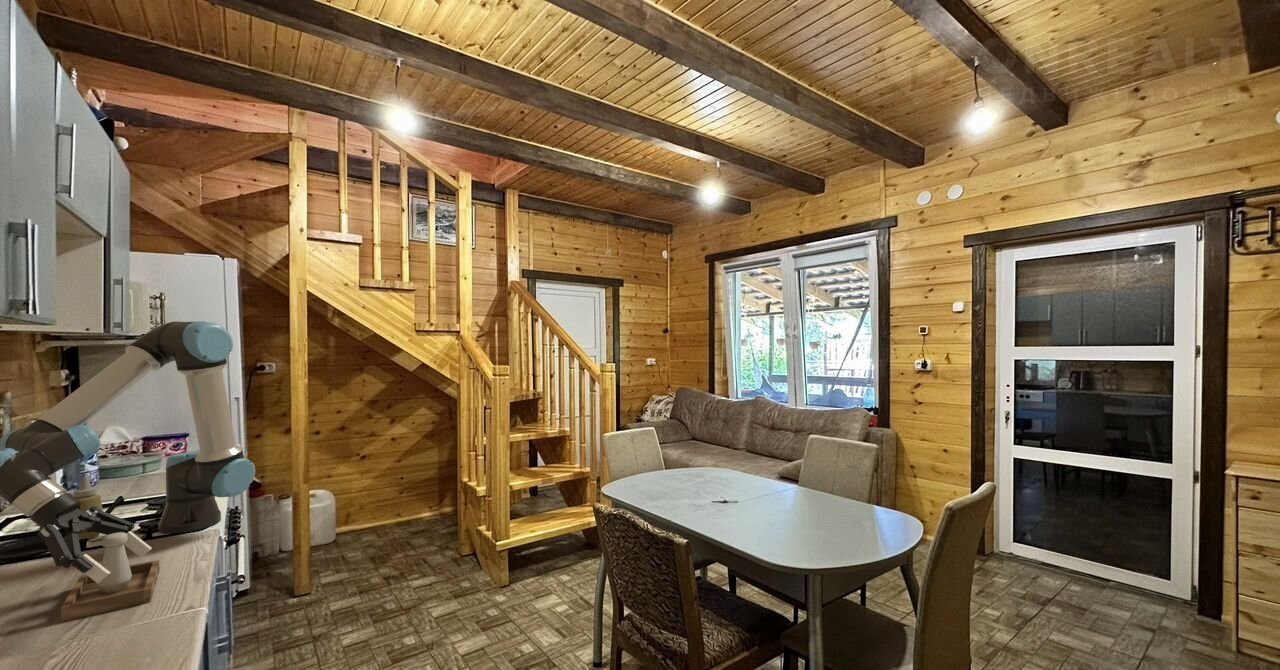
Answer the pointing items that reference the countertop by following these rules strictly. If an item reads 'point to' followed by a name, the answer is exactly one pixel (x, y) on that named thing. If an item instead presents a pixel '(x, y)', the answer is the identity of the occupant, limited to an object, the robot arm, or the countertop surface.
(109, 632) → the countertop surface
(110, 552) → the salt shaker
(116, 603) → the walnut tray
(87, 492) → the squeeze bottle
